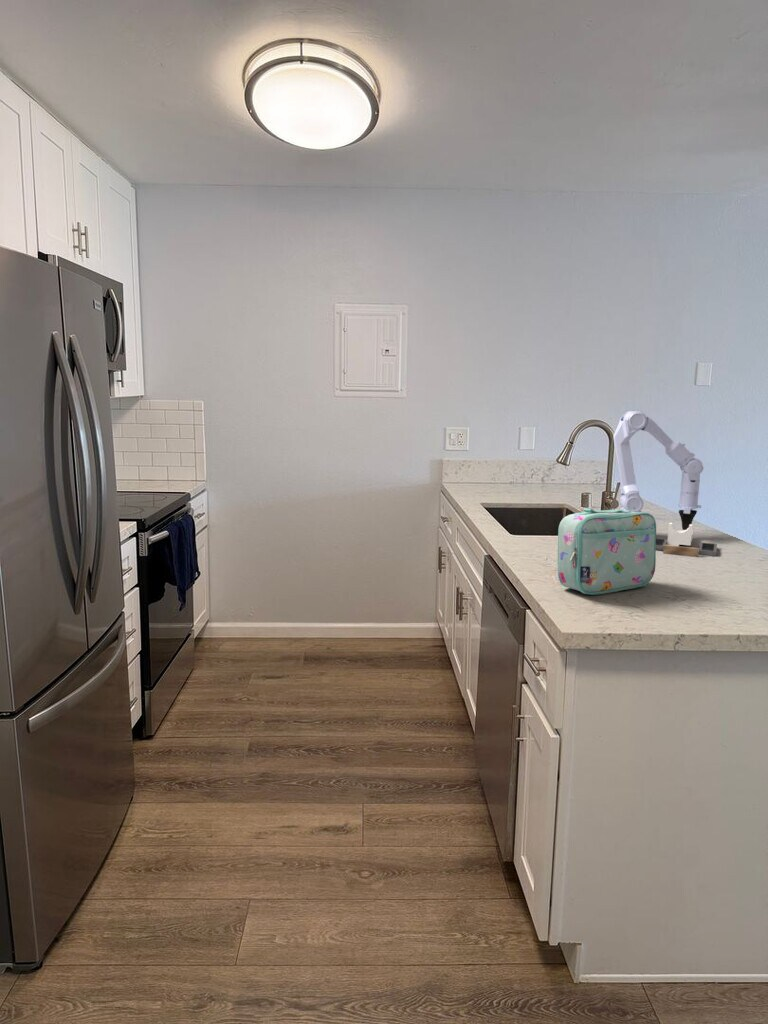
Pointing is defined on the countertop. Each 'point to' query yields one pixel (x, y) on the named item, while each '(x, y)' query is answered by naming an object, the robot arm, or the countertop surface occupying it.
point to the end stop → (680, 550)
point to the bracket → (679, 536)
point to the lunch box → (606, 550)
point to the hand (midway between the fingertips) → (686, 530)
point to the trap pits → (704, 548)
